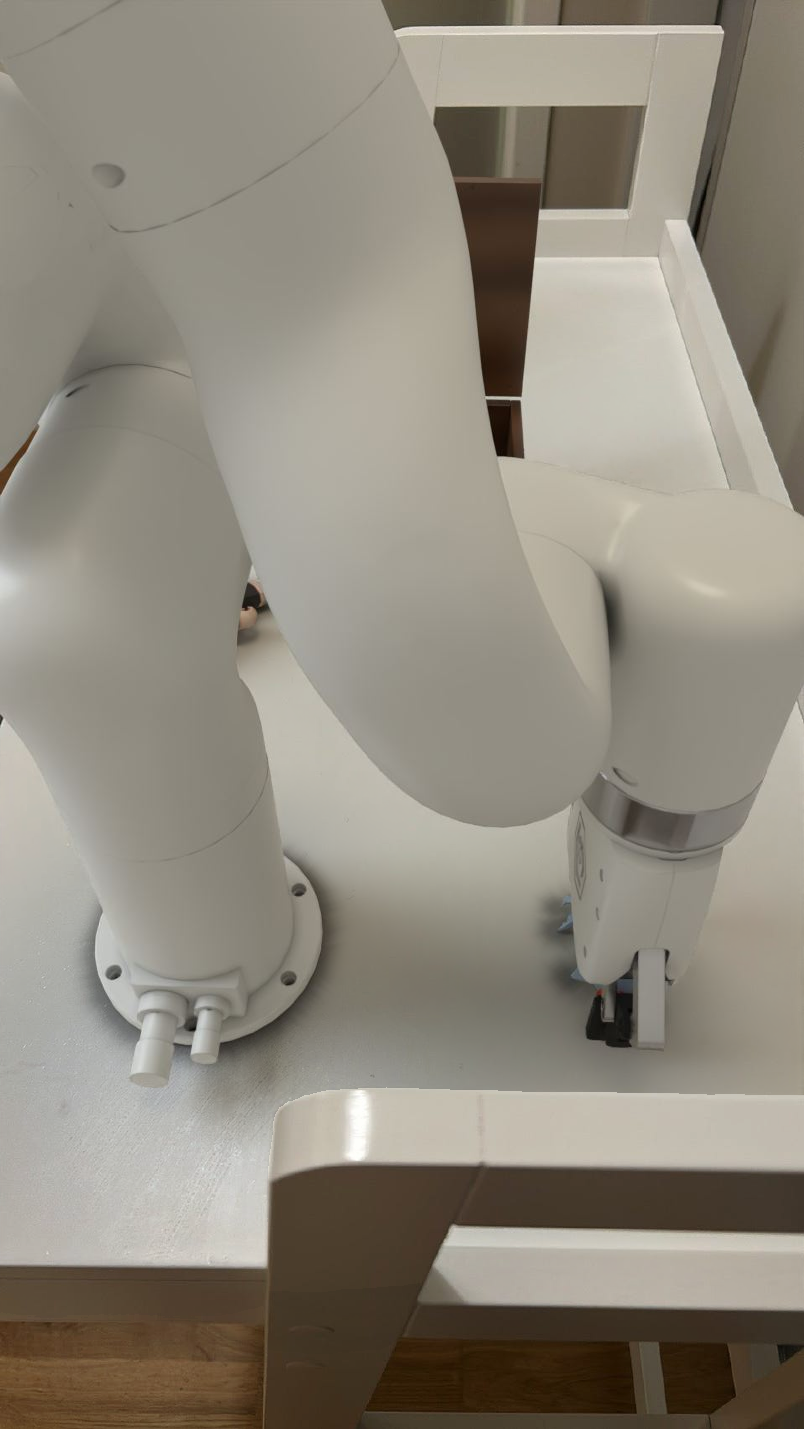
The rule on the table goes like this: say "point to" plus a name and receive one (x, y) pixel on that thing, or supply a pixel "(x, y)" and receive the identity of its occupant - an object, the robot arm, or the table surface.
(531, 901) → the table surface
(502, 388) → the lid
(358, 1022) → the table surface
